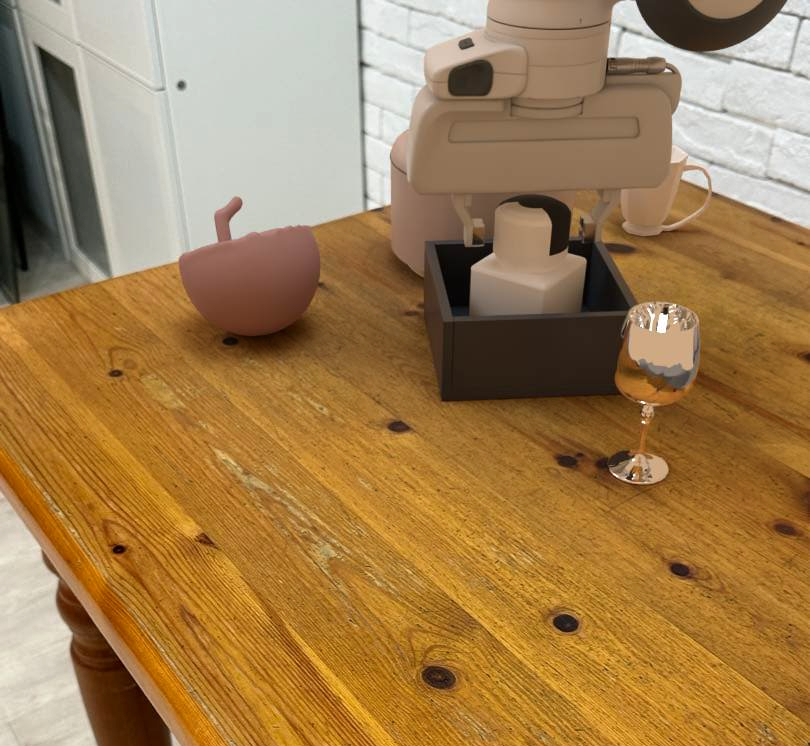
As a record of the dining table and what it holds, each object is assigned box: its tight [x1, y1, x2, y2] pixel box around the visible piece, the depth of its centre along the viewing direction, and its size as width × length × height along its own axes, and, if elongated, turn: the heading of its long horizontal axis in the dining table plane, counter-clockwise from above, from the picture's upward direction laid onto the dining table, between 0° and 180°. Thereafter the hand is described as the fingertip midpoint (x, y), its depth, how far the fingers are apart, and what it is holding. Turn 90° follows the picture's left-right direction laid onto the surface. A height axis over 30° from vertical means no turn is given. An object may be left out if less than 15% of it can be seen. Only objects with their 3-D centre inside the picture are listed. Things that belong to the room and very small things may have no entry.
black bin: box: [423, 236, 639, 402], centre depth 88 cm, size 16×16×7 cm
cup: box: [620, 144, 713, 237], centre depth 110 cm, size 7×10×8 cm
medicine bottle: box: [469, 194, 587, 316], centre depth 86 cm, size 7×7×12 cm
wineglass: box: [606, 301, 701, 486], centre depth 73 cm, size 6×6×12 cm
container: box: [389, 128, 576, 278], centre depth 102 cm, size 18×18×12 cm
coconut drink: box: [178, 195, 321, 337], centre depth 90 cm, size 12×12×12 cm
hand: (531, 242), depth 84 cm, fingers open, 8 cm apart
